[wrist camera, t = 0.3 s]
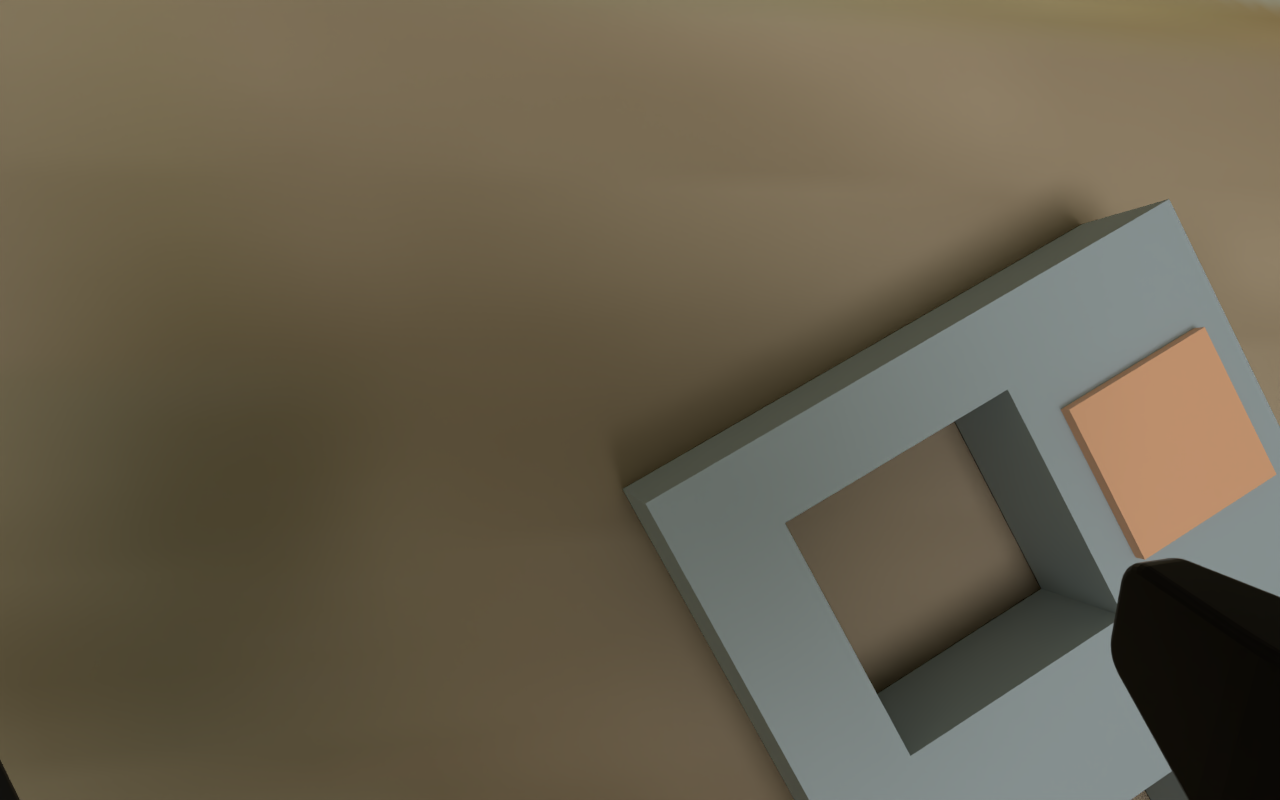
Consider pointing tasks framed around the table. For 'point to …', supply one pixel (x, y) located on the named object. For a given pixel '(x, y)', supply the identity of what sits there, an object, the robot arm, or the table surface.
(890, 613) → the table surface
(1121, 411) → the socket block
